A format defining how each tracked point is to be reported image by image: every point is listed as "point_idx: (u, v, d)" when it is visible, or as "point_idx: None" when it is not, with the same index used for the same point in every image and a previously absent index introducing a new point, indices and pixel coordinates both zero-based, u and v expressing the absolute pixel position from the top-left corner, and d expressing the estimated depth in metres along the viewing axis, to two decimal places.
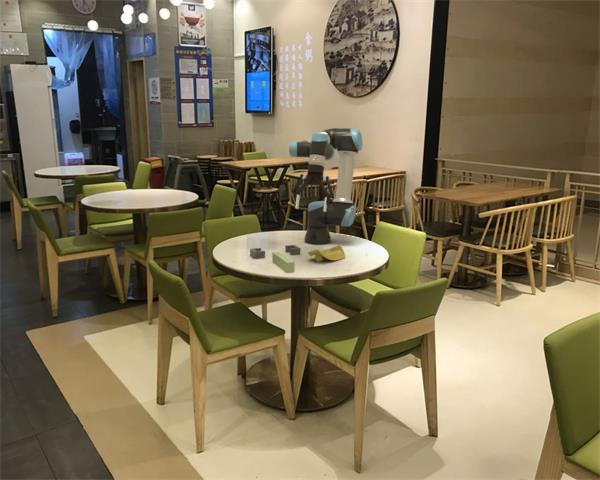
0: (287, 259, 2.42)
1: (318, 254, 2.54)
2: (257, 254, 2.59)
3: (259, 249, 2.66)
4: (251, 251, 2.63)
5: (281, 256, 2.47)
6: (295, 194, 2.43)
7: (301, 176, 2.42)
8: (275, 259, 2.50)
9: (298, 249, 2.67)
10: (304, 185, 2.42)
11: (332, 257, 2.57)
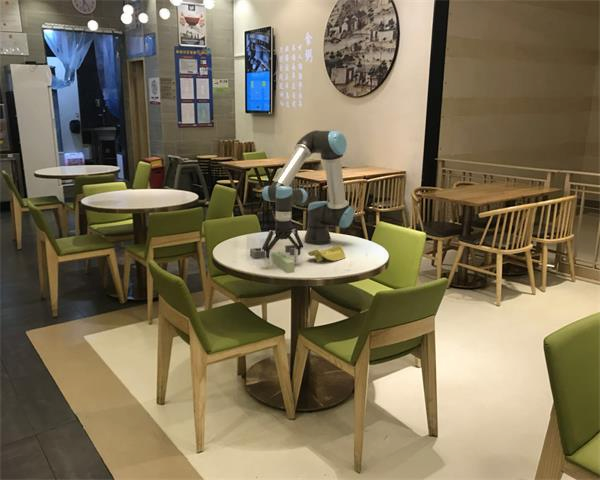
0: (287, 259, 2.42)
1: (318, 254, 2.54)
2: (257, 254, 2.59)
3: (259, 249, 2.66)
4: (251, 251, 2.63)
5: (281, 256, 2.47)
6: (267, 251, 2.41)
7: (271, 233, 2.39)
8: (275, 259, 2.50)
9: None
10: (275, 241, 2.41)
11: (332, 257, 2.57)
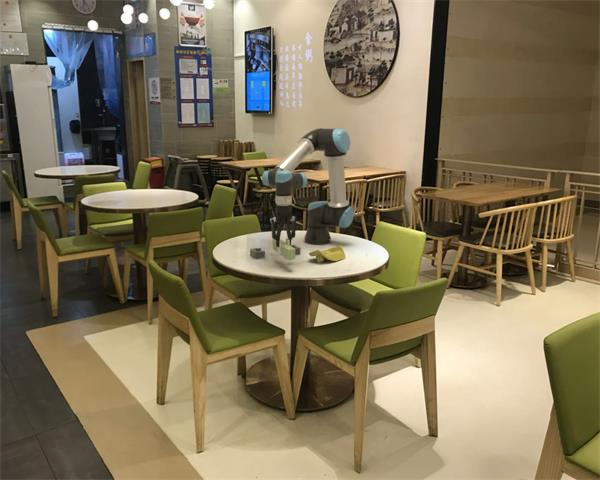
0: (288, 246, 2.40)
1: (319, 255, 2.53)
2: (257, 254, 2.59)
3: (259, 249, 2.66)
4: (251, 251, 2.63)
5: (282, 243, 2.45)
6: (278, 240, 2.42)
7: (273, 221, 2.38)
8: (276, 247, 2.49)
9: (298, 249, 2.67)
10: (280, 228, 2.41)
11: (333, 257, 2.56)
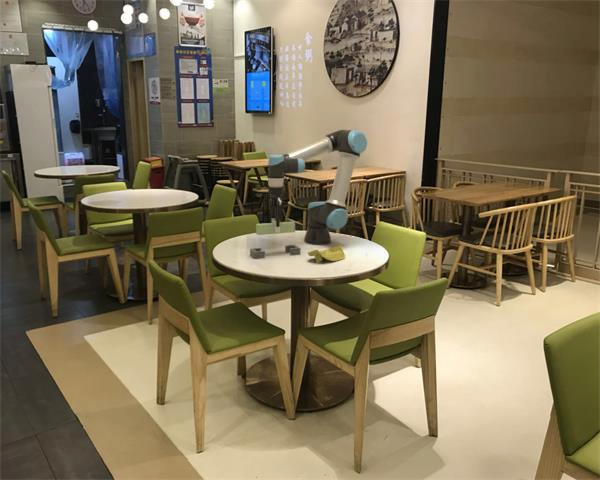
0: (283, 222, 2.65)
1: (318, 254, 2.54)
2: (257, 254, 2.59)
3: (259, 249, 2.66)
4: (251, 251, 2.63)
5: (273, 223, 2.62)
6: (279, 220, 2.60)
7: None
8: (267, 229, 2.60)
9: (298, 249, 2.67)
10: None
11: (332, 257, 2.56)
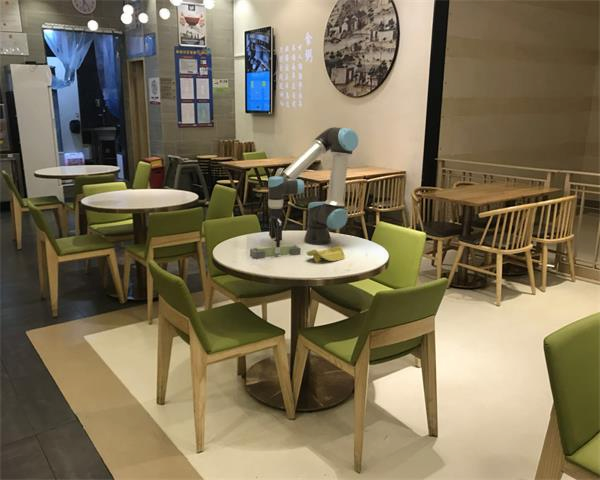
0: (283, 245, 2.68)
1: (316, 254, 2.54)
2: (257, 254, 2.59)
3: None
4: (251, 251, 2.63)
5: (273, 246, 2.65)
6: None
7: None
8: (266, 253, 2.63)
9: (298, 249, 2.67)
10: None
11: (330, 257, 2.56)
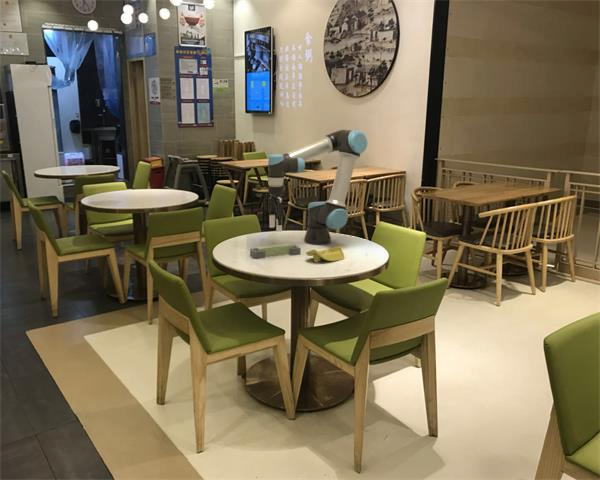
0: (283, 245, 2.68)
1: (316, 254, 2.54)
2: (257, 254, 2.59)
3: None
4: (251, 251, 2.63)
5: (273, 246, 2.65)
6: None
7: None
8: (267, 252, 2.63)
9: (298, 249, 2.67)
10: None
11: (330, 257, 2.56)
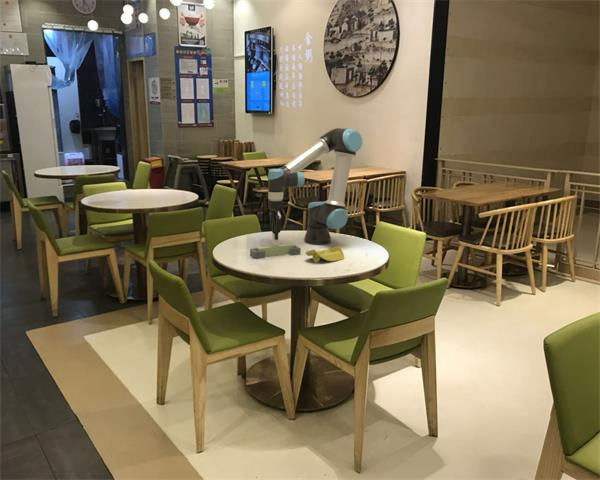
0: (283, 245, 2.68)
1: (315, 254, 2.54)
2: (257, 254, 2.59)
3: None
4: (251, 251, 2.63)
5: (273, 246, 2.65)
6: (277, 233, 2.63)
7: None
8: (267, 252, 2.63)
9: (298, 249, 2.67)
10: None
11: (330, 258, 2.56)
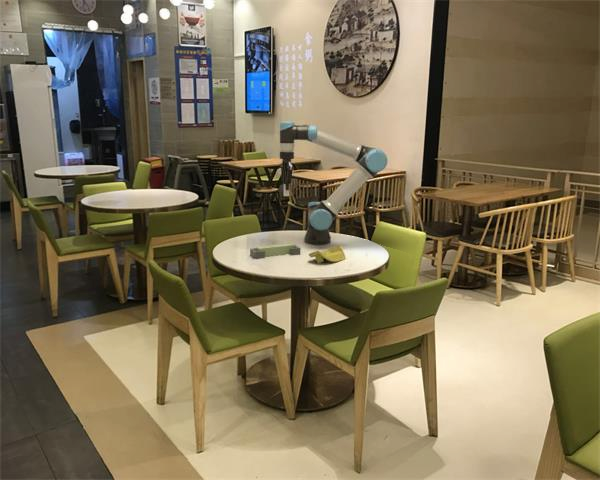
0: (283, 245, 2.68)
1: (319, 255, 2.52)
2: (257, 254, 2.59)
3: None
4: (251, 251, 2.63)
5: (273, 246, 2.65)
6: (288, 184, 2.74)
7: None
8: (267, 252, 2.63)
9: (298, 249, 2.67)
10: None
11: (333, 258, 2.55)
